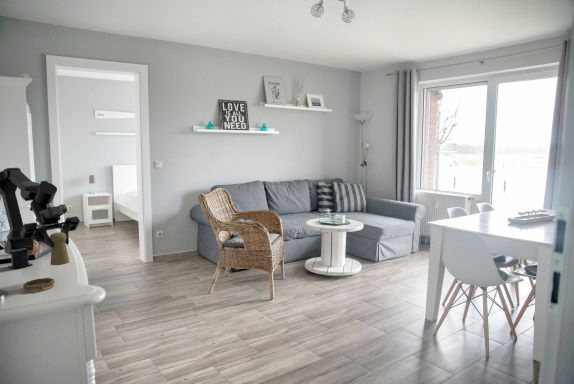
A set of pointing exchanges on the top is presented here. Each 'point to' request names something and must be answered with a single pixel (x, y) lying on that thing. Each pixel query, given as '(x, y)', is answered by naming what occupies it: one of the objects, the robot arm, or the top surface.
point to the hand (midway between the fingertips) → (60, 245)
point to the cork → (59, 249)
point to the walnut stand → (39, 285)
